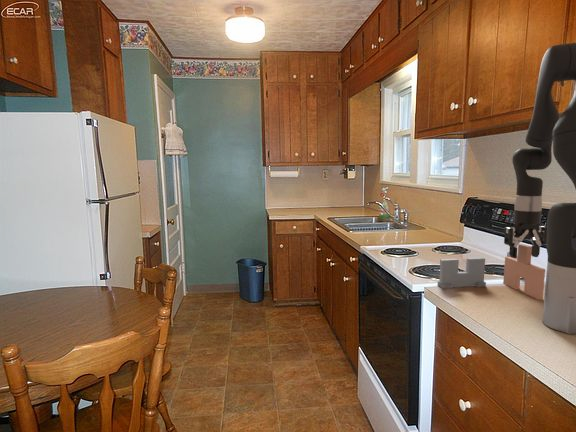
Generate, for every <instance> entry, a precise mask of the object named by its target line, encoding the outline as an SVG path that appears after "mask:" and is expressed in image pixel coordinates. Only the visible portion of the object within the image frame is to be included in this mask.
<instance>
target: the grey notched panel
mask: <svg viewBox="0 0 576 432" xmlns="http://www.w3.org/2000/svg"><path fill="white" fill-rule="evenodd" d="M459 262H460V259H458V258H447V259H446V258H445V259H444V258H442V259H440V260H439V280H438V281H437V286H438V287H440V288H441V289H443V290H447V289H448V290H449V289H452V288H462V287H463V288H464V287H477V288H481V287H483V288H486V287H487V281H485V267H486V258H485V257H466V262H465V263H466V264H465V265H466V266H465V271H459V265H460V263H459Z"/></svg>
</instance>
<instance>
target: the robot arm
mask: <svg viewBox="0 0 576 432" xmlns="http://www.w3.org/2000/svg"><path fill="white" fill-rule="evenodd" d="M564 81H566V82H568V81H574V91H573V96H572V98H571V100H570V102H569V104H568V105H567V107H566V108H565V110H564V111H563V112H562V114H561V116H560V113H559V110H558V108H557V106H556V104H555V102H554V98H553V86H554V84H555V82H564ZM530 119H531V120H530V123H529V126H528V130H527V132H526V136H525V139H524V140H525V142H526V144H527V145H528V146H530V147H531V148H529V147H528V148H526V147H525V148H518V149H517V150H515V151H514V153H513V155H512V158H511V160H512V166H513V169H514V172H515V178H516V193H515V194H516V195H515V201H514V208H513V209H514V210H513V223H514V225H513V227H507V226H506V227H504V235H503V236H504V237H503V243H504V245H507V246H509V251H508V252H509V255H510V257H512V258H517V252H518V245H519V244H521V243H522V242H523V240H530V242H531V244H532V245H531V247H532V252H531V257H534V258H538V257H539V256H540V251H541V246H542V245H546V252H547V265H546V272H545V276H546V277H545V284H544V295H543V299H544V300H543V311H542V324H543V325H545V326H546V327H549V328H550V329H553V330H556V331H559V332H563V333H566V334H568V335H571V334H572V335H573V334H576V247H574V246H573V239H576V202H559V203H555V204H553V205H552V206H551V207H550V208H549V211H548V213H547V219H546V226H544V225H540V224H541V222H542V221H541V219H542V210H543V199H542V197H543V184H544V182H543V179H541V178H540V177H536V176H530V175H529V174H528V173H527V171H532V170H533V171H541V170H546V169H547V168H548V167H549V166H550V165H551V163H552V162H553V161H552V158H553V156H554V159H555V160H556V162H557V164H558V165H559V166H560V168H561V169H562V170H563V171H564V173H565V174H566V175H567V177H568V178H569V179H570V180H571V182H572V183H573V186H574V189H575V190H576V42H570V43H562V44H561V43H560V44H554V45H552V46H550V47H548V48H547V50H545V53H544V55H543V57H542V60H541V64H540V68H539V73H538V80H537V86H536V92H535V99H534V107H533V111H532V116H531V118H530ZM532 147H533V148H532ZM552 154H553V156H552Z"/></svg>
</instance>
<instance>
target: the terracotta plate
mask: <svg viewBox="0 0 576 432" xmlns="http://www.w3.org/2000/svg"><path fill="white" fill-rule="evenodd" d="M517 252H518V259H514V258H511V257H507V256H505V257H504V268H503V269H504V270H503V283H502V284H504V285H506V286H508V287H509V288H511V289H514V290H520V286H521V279H524V286H523V287H524V290H523V292H524V293H523V294H525V295H527V296H530V297H532V298H533V299H536V300H538V301H539V300H543V299H544V292H545V280H546V277H545V276H546V269H545V268H542V267H540V266H537V265H533V264H532V263H531V262H532V255H531V252H532V245H531V246H530V245H527V244H524V243H519V244H518V246H517ZM520 277H522V278H520Z"/></svg>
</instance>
